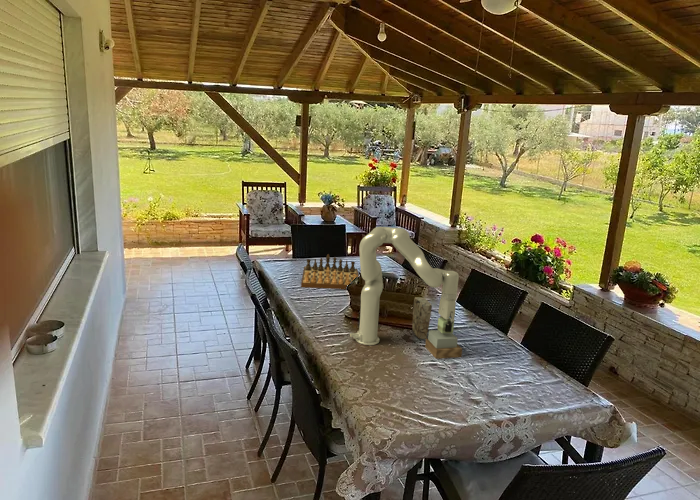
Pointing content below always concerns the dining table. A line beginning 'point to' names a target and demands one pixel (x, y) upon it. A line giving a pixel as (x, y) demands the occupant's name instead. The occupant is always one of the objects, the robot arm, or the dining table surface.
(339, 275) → the chess set
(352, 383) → the dining table surface
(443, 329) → the sage cube
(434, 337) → the sage green flat block
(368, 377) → the dining table surface
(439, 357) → the walnut slab
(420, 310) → the stone block
